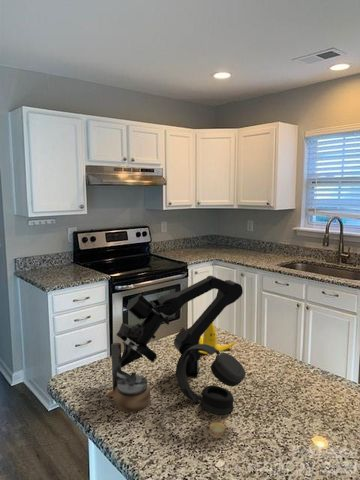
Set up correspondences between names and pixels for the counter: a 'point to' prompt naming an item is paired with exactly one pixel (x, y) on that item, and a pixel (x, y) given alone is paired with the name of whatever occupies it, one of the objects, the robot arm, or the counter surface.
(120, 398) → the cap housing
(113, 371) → the lugged disk with column
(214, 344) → the banana peel
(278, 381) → the counter surface
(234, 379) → the headphones
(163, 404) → the counter surface
